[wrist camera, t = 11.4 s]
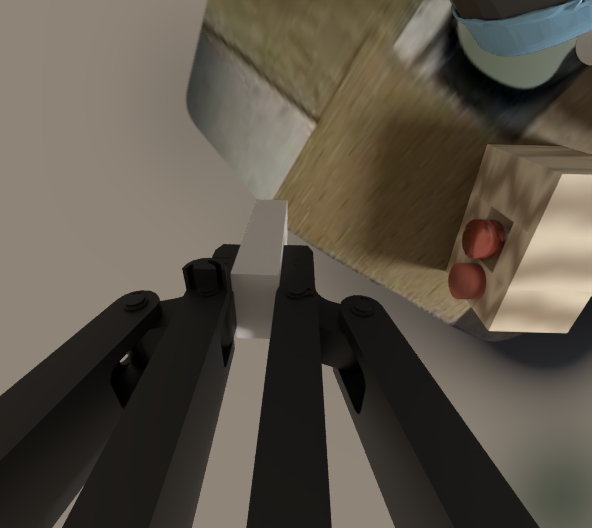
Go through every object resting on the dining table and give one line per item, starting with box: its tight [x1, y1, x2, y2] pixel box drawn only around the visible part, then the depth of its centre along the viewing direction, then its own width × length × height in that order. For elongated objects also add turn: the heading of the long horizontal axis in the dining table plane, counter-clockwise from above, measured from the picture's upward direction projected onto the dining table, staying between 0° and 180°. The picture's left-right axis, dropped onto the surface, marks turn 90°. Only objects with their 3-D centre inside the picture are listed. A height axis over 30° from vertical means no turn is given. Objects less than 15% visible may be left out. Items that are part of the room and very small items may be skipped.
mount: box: [446, 144, 592, 333], centre depth 41 cm, size 20×12×14 cm, turn 179°
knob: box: [462, 219, 511, 259], centre depth 40 cm, size 12×5×5 cm, turn 89°
